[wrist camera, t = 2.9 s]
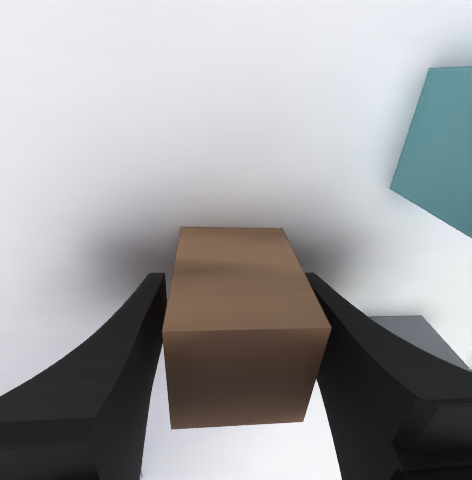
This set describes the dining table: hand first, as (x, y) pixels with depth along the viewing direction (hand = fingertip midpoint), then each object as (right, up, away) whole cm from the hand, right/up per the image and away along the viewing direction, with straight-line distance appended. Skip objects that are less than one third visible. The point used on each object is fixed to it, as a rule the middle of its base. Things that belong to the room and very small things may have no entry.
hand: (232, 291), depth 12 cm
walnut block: (0, +1, +2) cm, 2 cm away
